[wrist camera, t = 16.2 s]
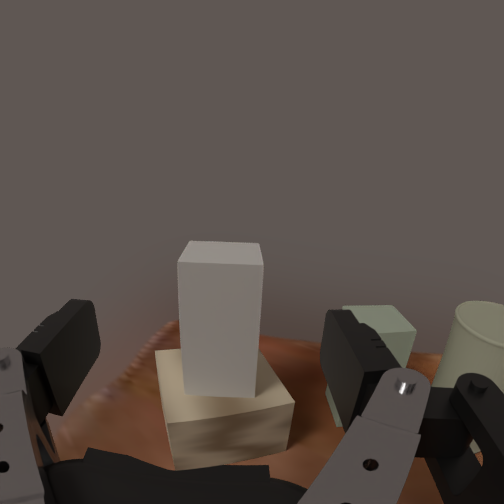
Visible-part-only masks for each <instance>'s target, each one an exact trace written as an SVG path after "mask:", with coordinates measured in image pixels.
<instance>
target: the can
mask: <svg viewBox="0 0 504 504" xmlns="http://www.w3.org/2000/svg"><path fill="white" fill-rule="evenodd" d="M465 373H478V374H481V375H484V376H486V377H488V378H489V379H491V380H492V381H493V382H494V383H495V384H496V385H497V386H498V388H499V389H500V390H501V391H502V392H503V393H504V305H500V304H497V303H492V302H486V301H469V302H464V303H462V304H460V305H459V306H458V307H457V308H456V310H455V317H454V321H453V324H452V328H451V332H450V335H449V338H448V341H447V344H446V347H445V350H444V353H443V356H442V359H441V361H440V364H439V367H438V370H437V372H436V375H435V377H434V380H433V383H432V385H431V387H443V388H454V386H455V383H456V381H457V379H458V377H459V376H461V375H462V374H465ZM469 446H470V447H471V449H472V451H473V453H474V454H475V453H478V452H480V451H481V450H480V449H479V447H478V445H477V444H476V442H475V441H474V439H473V441H472V442H471V444H470V445H469Z"/></svg>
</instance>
